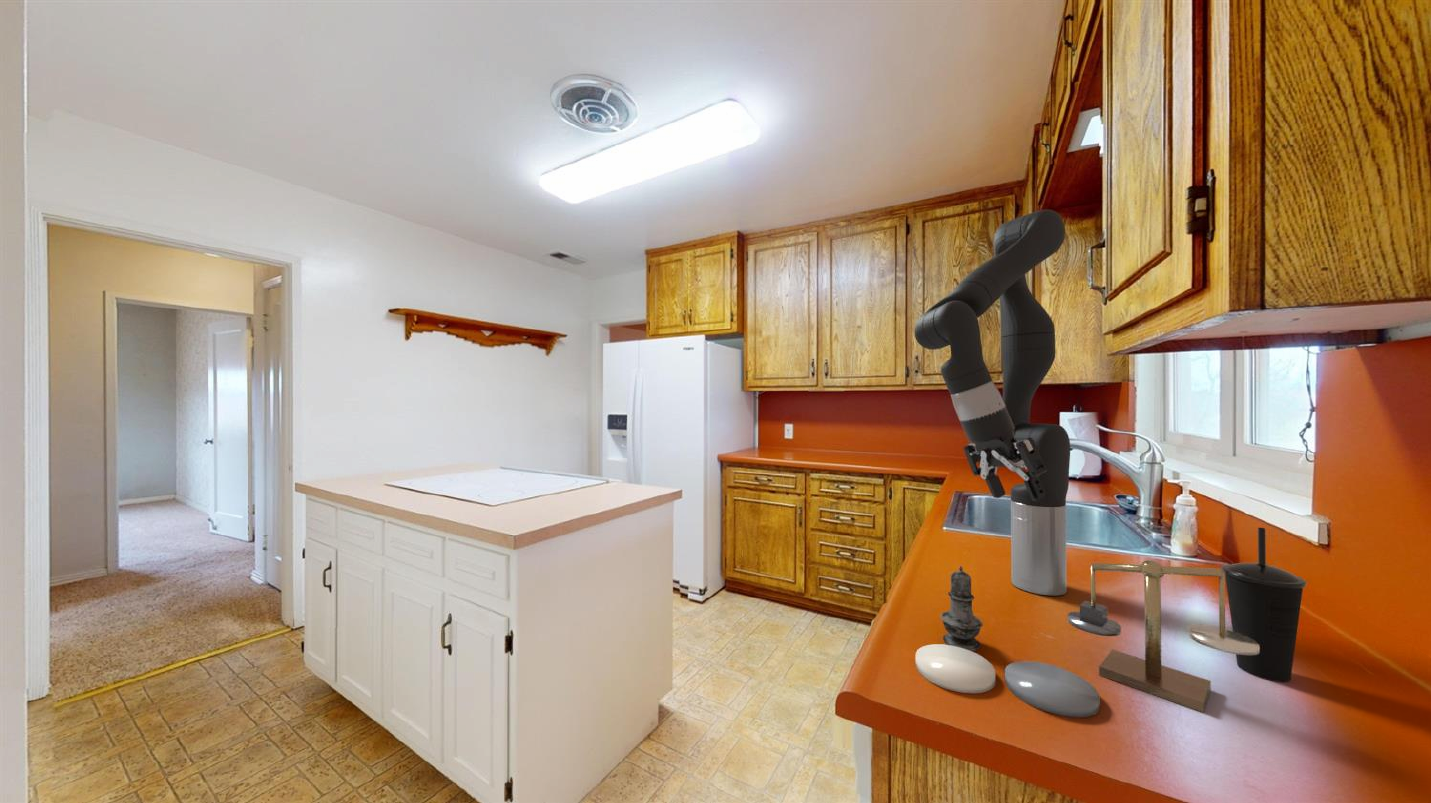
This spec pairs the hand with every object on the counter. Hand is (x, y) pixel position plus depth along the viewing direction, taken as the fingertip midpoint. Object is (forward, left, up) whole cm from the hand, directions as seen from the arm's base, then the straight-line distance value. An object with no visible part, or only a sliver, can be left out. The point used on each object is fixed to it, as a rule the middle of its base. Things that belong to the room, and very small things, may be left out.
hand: (1018, 497), depth 81 cm
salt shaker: (+16, -3, -21) cm, 27 cm away
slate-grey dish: (+20, +10, -21) cm, 31 cm away
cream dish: (+25, 0, -21) cm, 33 cm away
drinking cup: (-8, +27, -21) cm, 35 cm away
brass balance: (+7, +18, -21) cm, 29 cm away
